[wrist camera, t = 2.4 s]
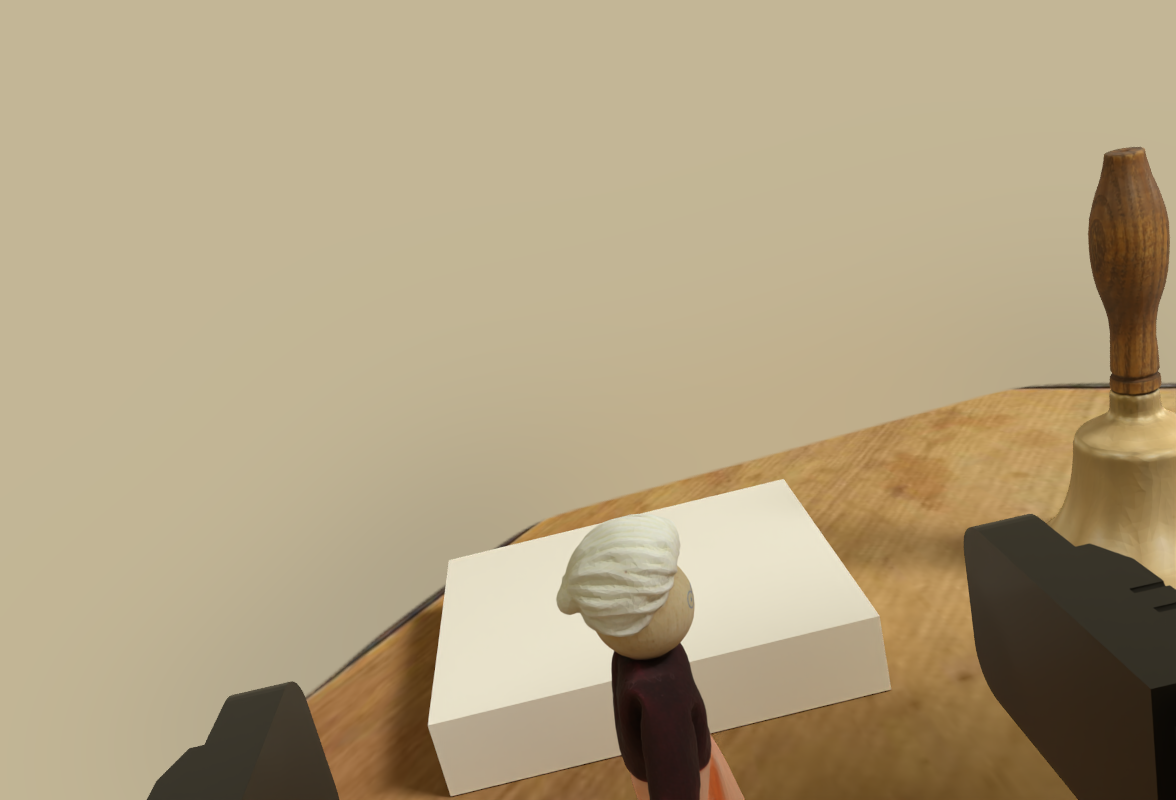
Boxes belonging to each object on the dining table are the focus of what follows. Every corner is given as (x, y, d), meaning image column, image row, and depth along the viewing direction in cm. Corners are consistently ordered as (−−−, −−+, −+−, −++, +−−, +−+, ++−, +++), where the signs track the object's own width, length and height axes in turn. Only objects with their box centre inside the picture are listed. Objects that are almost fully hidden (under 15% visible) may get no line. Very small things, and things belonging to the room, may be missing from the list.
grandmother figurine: (848, 1018, 25) (756, 555, 21) (702, 1081, 24) (580, 615, 20) (729, 818, 32) (645, 448, 28) (613, 863, 31) (512, 489, 28)
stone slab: (794, 536, 49) (783, 479, 48) (891, 689, 36) (879, 615, 35) (465, 615, 49) (448, 560, 48) (450, 796, 36) (427, 725, 35)
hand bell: (1085, 495, 46) (1054, 139, 41) (1302, 528, 40) (1295, 113, 35) (994, 581, 41) (947, 189, 37) (1225, 634, 35) (1204, 169, 30)
